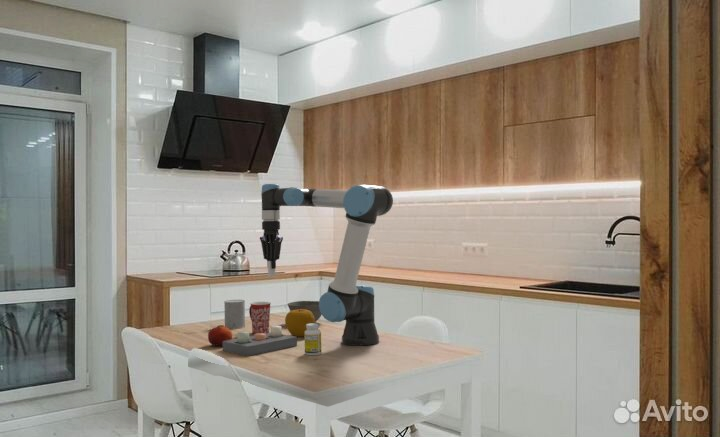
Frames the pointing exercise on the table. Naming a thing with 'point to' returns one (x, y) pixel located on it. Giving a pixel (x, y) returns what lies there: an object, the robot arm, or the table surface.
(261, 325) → the mug
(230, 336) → the tomato
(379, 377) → the table surface
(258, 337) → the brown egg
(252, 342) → the panel
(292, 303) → the bowl
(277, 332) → the button cream
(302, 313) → the apple
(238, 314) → the grey stone cylinder
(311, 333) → the pill bottle
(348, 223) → the robot arm
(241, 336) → the button sage
